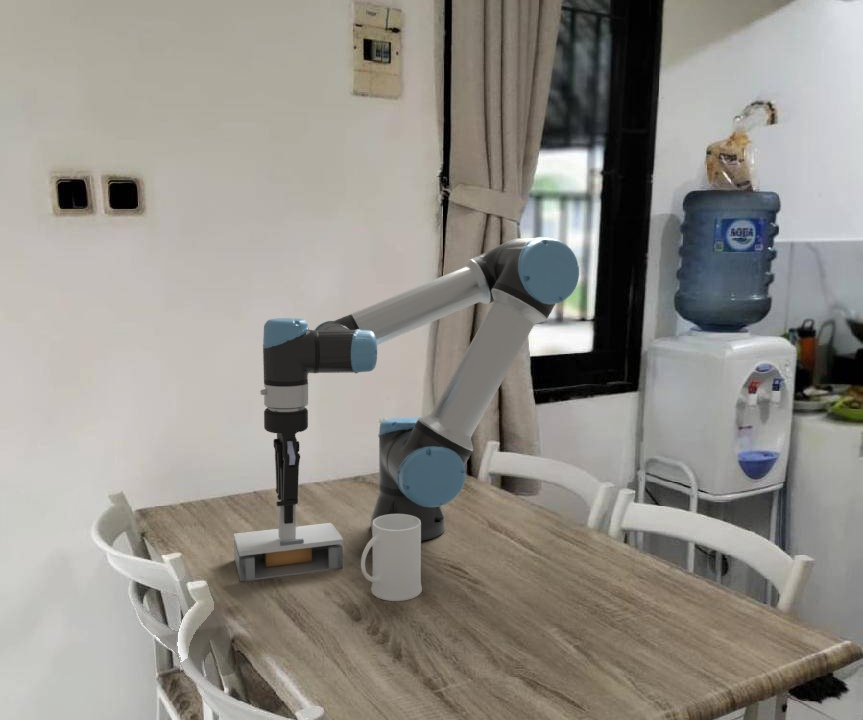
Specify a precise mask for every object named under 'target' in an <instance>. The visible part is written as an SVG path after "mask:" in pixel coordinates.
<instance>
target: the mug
mask: <svg viewBox="0 0 863 720" xmlns="http://www.w3.org/2000/svg"><path fill="white" fill-rule="evenodd" d="M371 532H372V534H371V535H372V537H371V538H370V540H369V541H368V542H367V544H366V546H365V547H364V549H363V552H362V554H361V559H360V569H361V573H362V575H363V576H364V578H365V579H366V580H367V581H369V582H371V583H372V584H371V588H370V592H371V594H372V595H373V596H374V597H376V598H377V599H380V600H384V601H386V602H387V601H388V602H403V601H409V600H413V599H416V598H417V597H418V596H420V594H421V593H422V590H423V586H422V579H421V578H422V576H421V575H422V574H421V571H422V569H421V567H422V565H421V564H422V563H421V562H422V561H421V560H422V543H421V542H422V541H421V521H420V519H418V518H417V517H415V516H412V515H407V514H388V515H383V516H379V517H377V518H375V519H374V520H373V523H372V531H371ZM371 548H372V576H371V575H370V574H369V573H368V572H367V569H366V559H367V555H368V553H369V551H370V549H371Z"/></svg>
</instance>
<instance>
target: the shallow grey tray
mask: <svg viewBox="0 0 863 720" xmlns="http://www.w3.org/2000/svg"><path fill="white" fill-rule="evenodd" d="M233 546H234V548H233V550H234V551H233V552H234V553H233V554H234V562H235V566H236V570H237V571H236V572H237V576H238V578H239V582H240V583H243V582H244V583H245V582H251V581H259V580H265V579H273V578H281V577H289V576H296V575H302V574H303V575H305V574H311V573H317V572H324V571H325V572H326V571H333V570H335V571H336V570H339V569H340V570H341V569H344V547H343V545H342V544H336V545H328V546H320V547H312V548H311V549H312V560H311V562H303V563H295V564H287V565H280V566H272V567H266V566H265V561H264V553H263V554H255V555H246V556H239V553H238V549H237V546H236V543H235V540H234V539H233Z"/></svg>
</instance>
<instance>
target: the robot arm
mask: <svg viewBox="0 0 863 720" xmlns="http://www.w3.org/2000/svg"><path fill="white" fill-rule="evenodd" d="M579 267H580V266H579V263H578V258H577V257H576V254H575V253H574V251H573V250H572V249H571V248H570V247H569V246H568V245H567V244H566V243H564V242H563V241H562V240H559V239H556V238H551V237H547V236H538V237H534V238H532V237H531V238H530V237H529V238H528V237H527V238H524V237H519V238H513V239H511V240H508V241H506V242H503V243H502V244H500V245H498V246H495V247H494V248H491V249H490V250H487V251H485V252H484V253H481V254H480V255H477V256H475V257H473V258H470V259H468V260H467V262H466V265H465V266H464V267H462V268H459V269H456V270H454V271H452V272H450V273H447V274H445V275H442V276H439V277H436V278H434V279H432V280H430V281H428V282H425V283H423V284H420V285H417V286H415V287H412V288H410V289H408V290H406V291H403V292H400V293H399V294H396V295H394V296H392V297H389V298H387V299H383V300H382V301H378V302H376V303H375V304H372V305H369V306H367V307H365V308H362V309H359V310H358V311H354V312H353V313H350V314H348V315H345V316H343V317H341V318H340V317H339V318H338V319H336V320H327V321H322V322H321V323H320V324H318V325H317V326H316V327H315V328H314V329H309V327H308V326H309V325H308V321H307V320H305V319H304V318H297V317H296V318H295V317H293V318H290V317H289V318H288V317H287V318H286V317H283V318H280V317H279V318H271V319H268V320H266V322H265V323H264V325H263V341H262V342H263V343H262V354H263V355H262V362H263V387H264V388H263V389H261V390H260V391H259V392H260V395H261V396H263V400H264V402H263V405H264V406H265V409H264V411H263V424H264V425H263V426H264V430H265V431H266V432H268V433H272V434H276V438H274V439H273V448H274V461H275V462H274V463H275V486H276V487H275V488H276V489H275V492H276V493H275V494H277V499H278V500H277V501H276V506H277V507H278V509H277V513H278V514H277V515H278V516H277V517H278V519H277V521H278V522H277V523H278V524H277V526H278V527H277V529H278V536H279V538H280V541H285V540H295V539H296V527H297V525H296V524H297V523H296V521H297V519H296V517H297V515H296V511H297V509H296V505H298V504H299V498H298V497H299V474H300V473H299V471H300V469H299V468H300V460H301V455H300V454H301V453H299V452H300V441H298V440H297V437H296V434H297V433H301V432H304V431H306V430H307V429H308V427H309V415H308V414H309V409H308V408H307V406H308V405H309V382H308V381H309V379H308V378H309V377H308V376H309V374H319V373H320V374H326V373H328V374H336V373H337V374H339V373H342V374H343V373H344V374H345V373H346V374H347V373H353V374H359V373H367V372H371V371H373V370H374V369H375V368H376V366H377V362H378V361H377V360H378V345H381V344H382V343H385V342H388V341H389V340H392V339H395V338H397V337H400V336H402V335H404V334H406V333H409V332H411V331H414V330H416V329H418V328H421V327H423V326H425V325H427V324H430V323H433V322H435V321H437V320H441V319H443V318H445V317H447V316H450V315H451V314H454V313H457V312H459V311H462V310H463V309H466V308H468V307H471V306H473V305H475V304H478V303H481V304H483V305H489V304H491V303H492V305H491V307H490V309H489V311H488V312H487V314H486V316H485V318H484V319H483V321H482V323H481V324H480V326H479V328H478V330H477V331H476V333H475V335H474V337H473V338H472V341H471V342H470V344H469V346H468V347H467V349H466V351H465V353H464V354H463V356H462V358H461V360H460V362H459V363H458V364H457V368H456V369H455V371H454V372H453V375H452V376H451V377H450V379H449V382H448V383H447V385H446V386H445V388H444V390H443V392H442V393H441V395H440V397H439V398H438V401H437V402H436V404H435V405H434V408H433V409H432V411H431V413H430V414H428V415H425V416H422V417H418V416H415V417H413V416H412V417H409V416H408V417H396V418H395V417H394V418H388V419H384V420H383V421H381V422H380V424H379V431H378V435H377V436H378V439H379V440H378V441H379V443H378V445H379V446H378V447H379V449H378V451H379V452H378V453H379V455H378V457H379V458H378V459H379V460H378V461H379V468H378V470H379V475H378V477H379V490H378V492H379V493H378V496H377V499H376V502H375V504H374V508H373V511H372V514H371V517H370V518H371V519H370V530H371V532H372V523H373V520H374V519H375V518H377V517H379V516H383V515H388V514H407V515H412V516H415V517H417V518H418V519H420V521H421V542H422V541H427V540H428V541H429V540H431V539H432V540H433V539H434V538H437V537H439V536H441V535H442V534H443V533H444V532H445V530H446V526H445V525H446V519H445V515H444V511H443V508H442V506H445V505H447V504H449V503H450V502H452V501H453V500H455V499H456V498H457V496H459V494H460V493H461V492H462V490H463V488H464V486H465V482H466V478H467V477H466V476H467V472H466V464H467V462H468V460H469V459H470V456H471V454H472V453H473V452H474V445H473V442H472V436H473V434H474V432H475V431H476V428H478V426H479V424H480V422H481V420H482V418H483V416H484V415H485V413H486V411H487V410H488V407H490V404H491V403H492V400H493V399H494V397H495V395H496V394H497V392H498V390H499V388H500V386H501V385H502V383H503V381H504V379H505V377H506V376H507V373H508V372H509V371H510V368H511V367H512V366H513V363H514V361H515V360H516V358H517V356H518V354H519V353H520V351H521V350H522V348H523V346H524V344H525V342H526V341H527V338H528V337H529V335H530V333H531V332H532V330H533V328H534V326H535V325H537V324H540V323H543V322H546V321H547V319H548V318H549V316H550V314H552V311H553V309H554V307H555V306H556V304H560V303H562V302H563V301H565V300H566V299H568V298H569V297H570V296H571V295H572V294H573V292H574V291H575V289H576V288H577V285H578V283H579V277H580V268H579Z"/></svg>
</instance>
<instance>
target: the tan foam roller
mask: <svg viewBox="0 0 863 720" xmlns="http://www.w3.org/2000/svg"><path fill="white" fill-rule="evenodd" d="M311 560H312V549H311V548H303V549H295V550H287V551H279V552H271V553H264V561H265V566H266V567H272V566H280V565H287V564H295V563H303V562H311Z"/></svg>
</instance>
